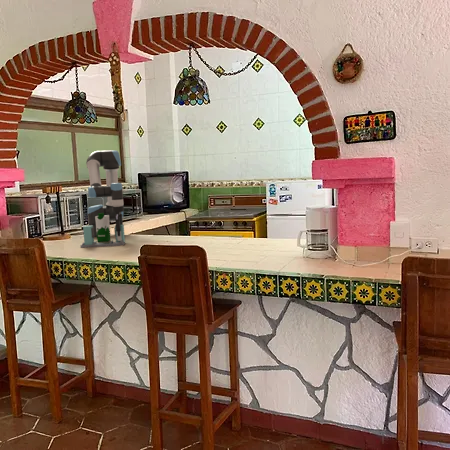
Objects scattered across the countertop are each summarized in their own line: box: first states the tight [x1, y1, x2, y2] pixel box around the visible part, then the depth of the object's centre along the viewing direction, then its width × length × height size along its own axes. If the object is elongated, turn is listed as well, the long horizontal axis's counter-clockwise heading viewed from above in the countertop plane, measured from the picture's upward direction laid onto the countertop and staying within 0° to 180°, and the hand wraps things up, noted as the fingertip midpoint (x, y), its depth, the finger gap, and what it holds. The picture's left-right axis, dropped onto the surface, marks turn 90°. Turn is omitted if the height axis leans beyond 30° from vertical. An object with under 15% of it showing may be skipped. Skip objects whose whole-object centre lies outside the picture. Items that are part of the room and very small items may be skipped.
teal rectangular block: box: [82, 225, 95, 245], centre depth 317 cm, size 5×6×12 cm
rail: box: [80, 239, 126, 249], centre depth 318 cm, size 7×28×3 cm, turn 92°
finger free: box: [113, 224, 126, 243], centre depth 326 cm, size 5×6×12 cm
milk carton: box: [95, 213, 112, 243], centre depth 338 cm, size 9×9×20 cm
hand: (120, 239), depth 326 cm, fingers closed on finger free, 5 cm apart
